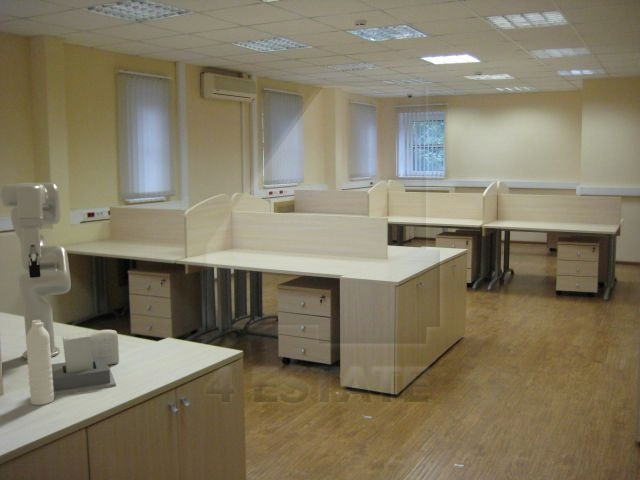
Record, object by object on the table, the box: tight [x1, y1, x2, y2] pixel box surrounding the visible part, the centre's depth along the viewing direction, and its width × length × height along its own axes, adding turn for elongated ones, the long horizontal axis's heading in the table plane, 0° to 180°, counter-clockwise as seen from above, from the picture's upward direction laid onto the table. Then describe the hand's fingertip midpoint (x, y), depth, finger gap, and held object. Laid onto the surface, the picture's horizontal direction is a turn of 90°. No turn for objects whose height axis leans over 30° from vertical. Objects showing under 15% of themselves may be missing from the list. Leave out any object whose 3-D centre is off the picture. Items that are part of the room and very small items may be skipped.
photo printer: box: [89, 329, 120, 366], centre depth 228 cm, size 10×4×12 cm, turn 123°
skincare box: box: [62, 331, 93, 373], centre depth 211 cm, size 8×6×15 cm
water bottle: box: [25, 320, 55, 406], centre depth 193 cm, size 9×6×25 cm
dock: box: [51, 357, 117, 397], centre depth 211 cm, size 18×20×5 cm
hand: (35, 274), depth 214 cm, fingers open, 9 cm apart
